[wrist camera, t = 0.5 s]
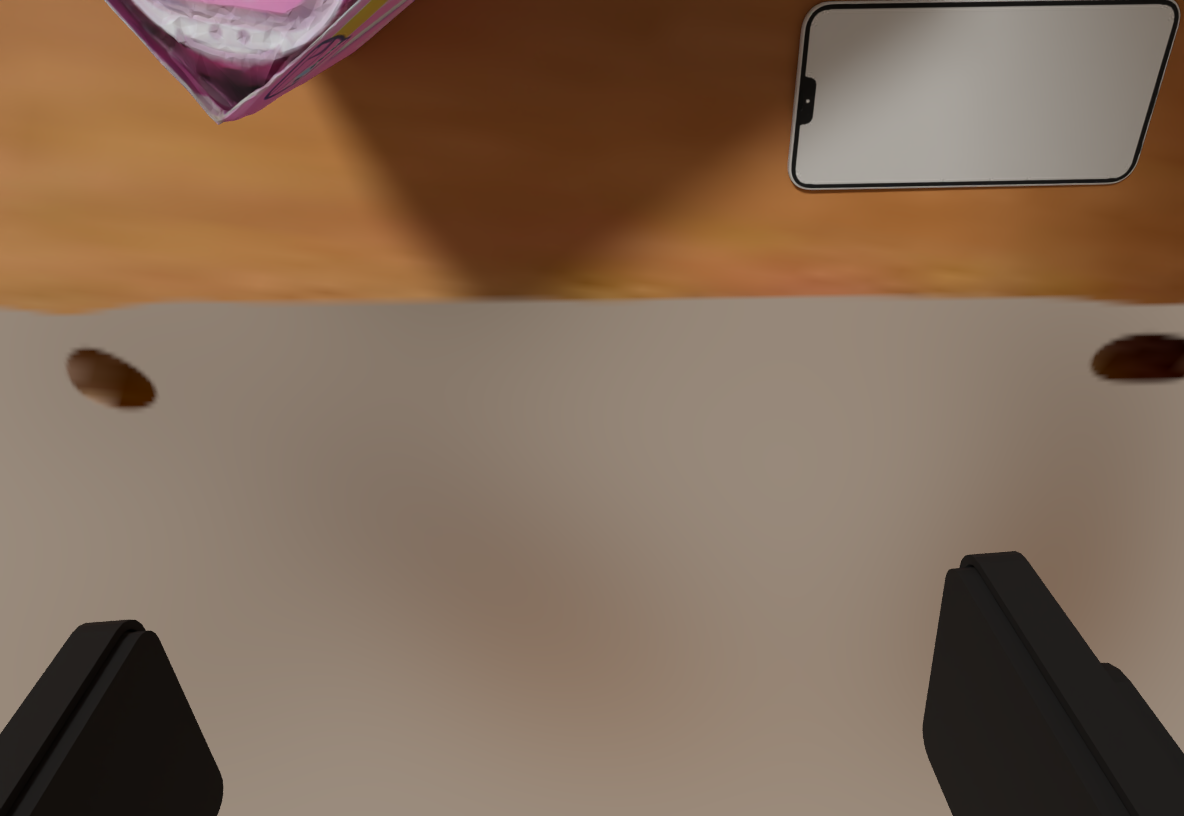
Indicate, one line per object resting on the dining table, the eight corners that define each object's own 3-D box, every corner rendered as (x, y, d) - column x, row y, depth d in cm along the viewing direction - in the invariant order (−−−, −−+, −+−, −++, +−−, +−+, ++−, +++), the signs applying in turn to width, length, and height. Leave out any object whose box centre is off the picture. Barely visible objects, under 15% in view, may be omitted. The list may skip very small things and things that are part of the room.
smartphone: (1131, 185, 37) (786, 191, 37) (1122, 181, 37) (783, 187, 37) (1188, -5, 33) (806, 1, 33) (1177, -6, 34) (801, -1, 34)
